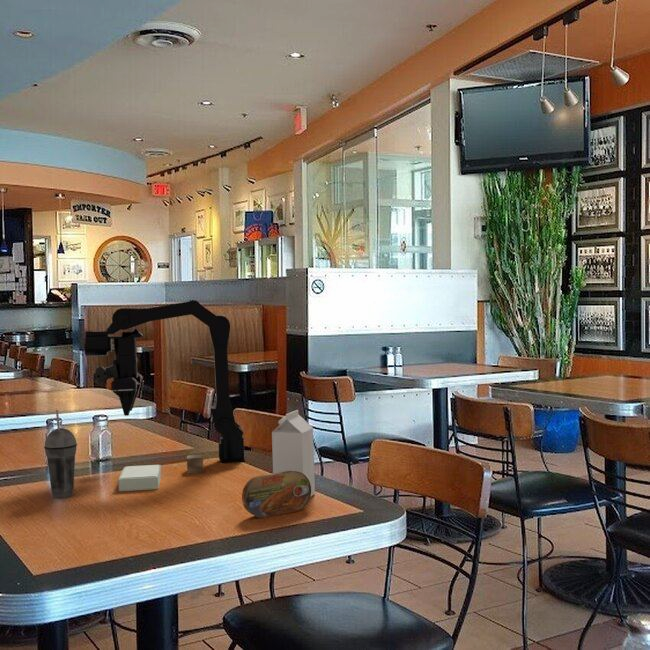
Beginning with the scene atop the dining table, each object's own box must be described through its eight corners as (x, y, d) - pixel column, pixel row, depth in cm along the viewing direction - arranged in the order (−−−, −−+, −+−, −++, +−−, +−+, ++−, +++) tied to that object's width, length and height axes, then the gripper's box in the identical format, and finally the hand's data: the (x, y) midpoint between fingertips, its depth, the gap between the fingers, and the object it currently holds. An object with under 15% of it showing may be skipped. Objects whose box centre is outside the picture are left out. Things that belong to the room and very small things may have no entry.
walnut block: (203, 469, 210) (202, 454, 210) (203, 473, 206) (202, 457, 206) (187, 470, 210) (187, 455, 210) (187, 474, 206) (186, 458, 206)
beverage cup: (84, 491, 189) (80, 406, 188) (71, 499, 182) (67, 411, 181) (54, 492, 190) (50, 407, 189) (40, 499, 182) (36, 411, 182)
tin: (247, 521, 161) (245, 479, 161) (240, 517, 164) (239, 476, 163) (312, 509, 168) (311, 469, 168) (305, 506, 171) (304, 466, 171)
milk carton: (315, 494, 181) (312, 409, 180) (304, 502, 174) (301, 414, 173) (285, 492, 183) (283, 409, 182) (273, 500, 176) (271, 413, 176)
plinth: (161, 475, 204) (160, 464, 204) (158, 488, 190) (157, 476, 190) (124, 478, 202) (124, 466, 202) (118, 491, 189) (118, 478, 188)
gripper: (99, 353, 224) (101, 410, 224) (89, 359, 205) (92, 420, 206) (140, 352, 225) (142, 407, 226) (134, 357, 207) (137, 417, 207)
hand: (128, 413), depth 216 cm, fingers open, 9 cm apart
